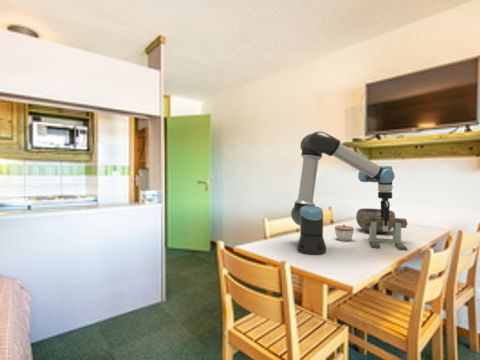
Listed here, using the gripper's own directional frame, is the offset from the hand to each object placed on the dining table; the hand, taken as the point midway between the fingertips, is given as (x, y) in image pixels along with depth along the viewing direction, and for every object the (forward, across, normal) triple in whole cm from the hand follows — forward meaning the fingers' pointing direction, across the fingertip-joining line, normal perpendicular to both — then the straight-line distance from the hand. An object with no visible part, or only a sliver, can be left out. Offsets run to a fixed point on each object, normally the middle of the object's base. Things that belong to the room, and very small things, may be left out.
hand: (384, 230), depth 160 cm
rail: (-2, 0, 0) cm, 2 cm away
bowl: (+7, +26, +1) cm, 27 cm away
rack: (+7, 0, 0) cm, 7 cm away
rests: (+7, -13, +1) cm, 15 cm away
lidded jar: (+7, -3, +23) cm, 24 cm away
